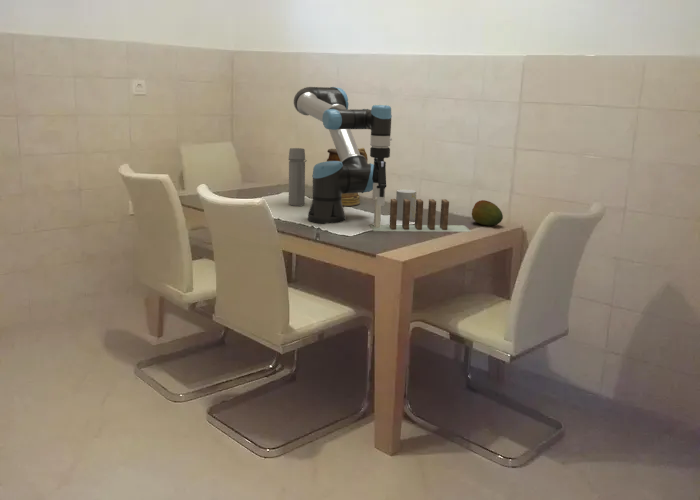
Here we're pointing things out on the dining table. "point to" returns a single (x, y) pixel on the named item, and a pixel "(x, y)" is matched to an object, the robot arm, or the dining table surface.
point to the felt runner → (423, 228)
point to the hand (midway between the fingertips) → (378, 202)
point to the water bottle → (296, 176)
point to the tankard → (347, 198)
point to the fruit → (486, 213)
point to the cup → (399, 197)
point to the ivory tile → (377, 214)
